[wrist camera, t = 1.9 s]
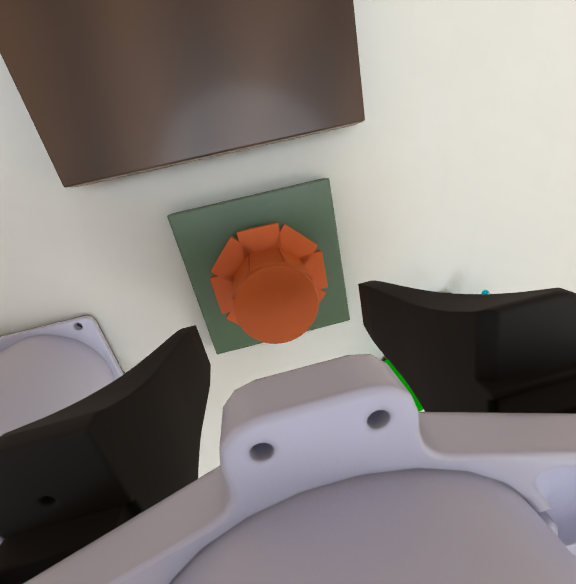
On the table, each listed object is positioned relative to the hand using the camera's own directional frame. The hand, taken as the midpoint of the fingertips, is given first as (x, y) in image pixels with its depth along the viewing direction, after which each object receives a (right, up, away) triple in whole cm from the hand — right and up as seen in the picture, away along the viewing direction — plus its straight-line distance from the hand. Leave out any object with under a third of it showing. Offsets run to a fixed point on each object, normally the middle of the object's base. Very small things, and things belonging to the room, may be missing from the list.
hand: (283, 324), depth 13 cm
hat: (-1, +2, +6) cm, 6 cm away
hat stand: (-1, +3, +8) cm, 9 cm away
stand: (-5, +14, +3) cm, 16 cm away
